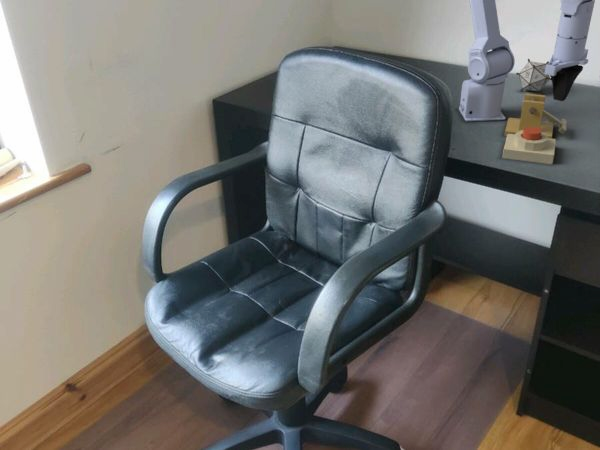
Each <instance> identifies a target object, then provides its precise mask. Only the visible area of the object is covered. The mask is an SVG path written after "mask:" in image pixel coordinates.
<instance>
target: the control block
mask: <svg viewBox="0 0 600 450" xmlns="http://www.w3.org/2000/svg"><path fill="white" fill-rule="evenodd" d="M522 135H523V130H521V131H519V132H517V133H516V134H515V135H514V134H507V136H506V138H505V142H504V146H503V150H502V156H501V157H502V159H506V160H507V159H508V160H516V161H523V162H532V163H539V164H547V165H553V164H554V159H555V153H556V152H555V151H556V142H557V139H556V138H552V139H549V138H548V136H547V135H546V134H545V133H542V132H541V137H540V140H535V141H532V140H526V139H524V138H522Z"/></svg>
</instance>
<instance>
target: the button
mask: <svg viewBox="0 0 600 450" xmlns="http://www.w3.org/2000/svg"><path fill="white" fill-rule="evenodd" d="M541 132H542V131H541V129H539V128H536V127H526V128H524V129H523V135H522V138H524V139H526V140H532V141H535V140H540V137H541Z"/></svg>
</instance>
